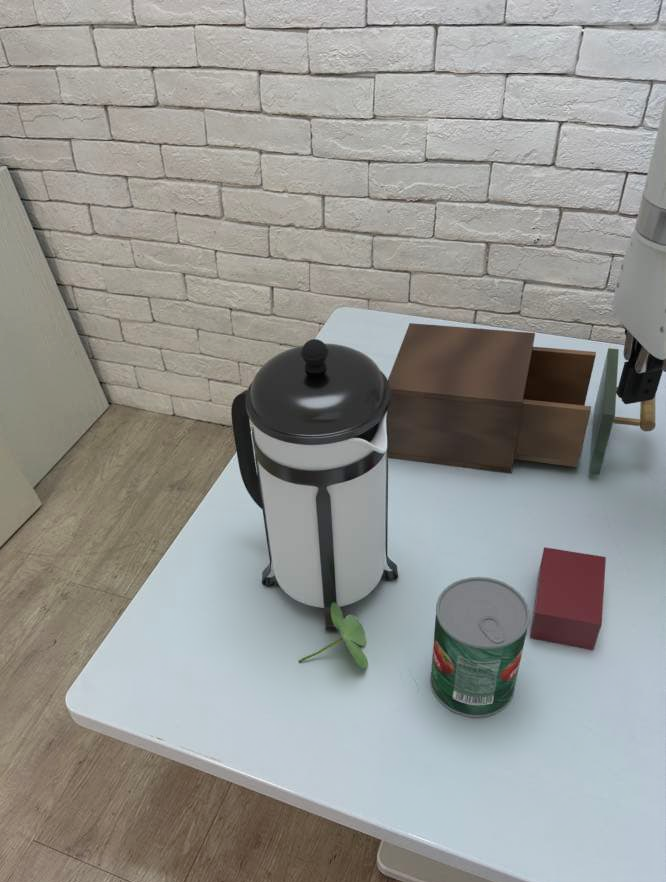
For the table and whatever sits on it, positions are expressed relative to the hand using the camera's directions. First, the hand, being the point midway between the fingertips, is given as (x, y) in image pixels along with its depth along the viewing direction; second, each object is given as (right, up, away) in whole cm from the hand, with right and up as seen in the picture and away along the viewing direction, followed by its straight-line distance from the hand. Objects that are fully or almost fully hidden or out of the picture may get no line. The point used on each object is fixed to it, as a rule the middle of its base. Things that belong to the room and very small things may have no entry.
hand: (634, 397), depth 80 cm
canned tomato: (-17, -28, -3) cm, 33 cm away
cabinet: (-12, 0, +24) cm, 27 cm away
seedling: (-30, -25, +1) cm, 39 cm away
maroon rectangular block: (-6, -21, +2) cm, 22 cm away
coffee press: (-31, -18, +9) cm, 37 cm away
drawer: (0, -1, +19) cm, 19 cm away
